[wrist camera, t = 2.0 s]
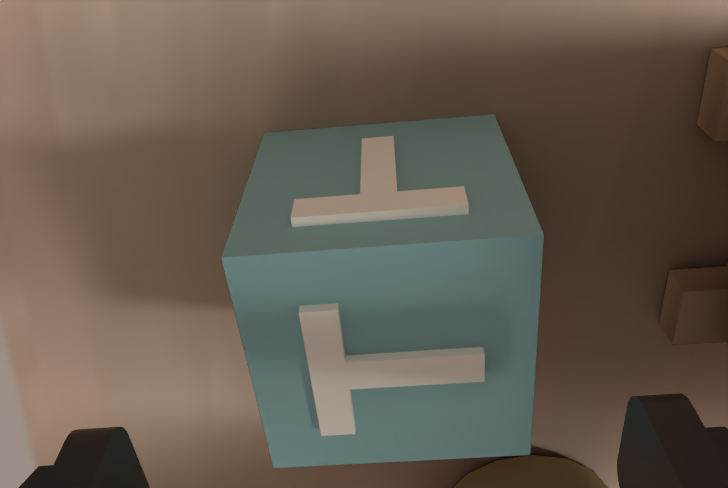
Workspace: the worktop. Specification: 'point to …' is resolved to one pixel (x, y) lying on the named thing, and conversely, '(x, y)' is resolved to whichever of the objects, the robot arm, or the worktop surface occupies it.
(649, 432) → the robot arm
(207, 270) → the worktop surface
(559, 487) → the squeeze bottle
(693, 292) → the screen
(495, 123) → the cube
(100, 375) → the worktop surface
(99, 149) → the worktop surface
